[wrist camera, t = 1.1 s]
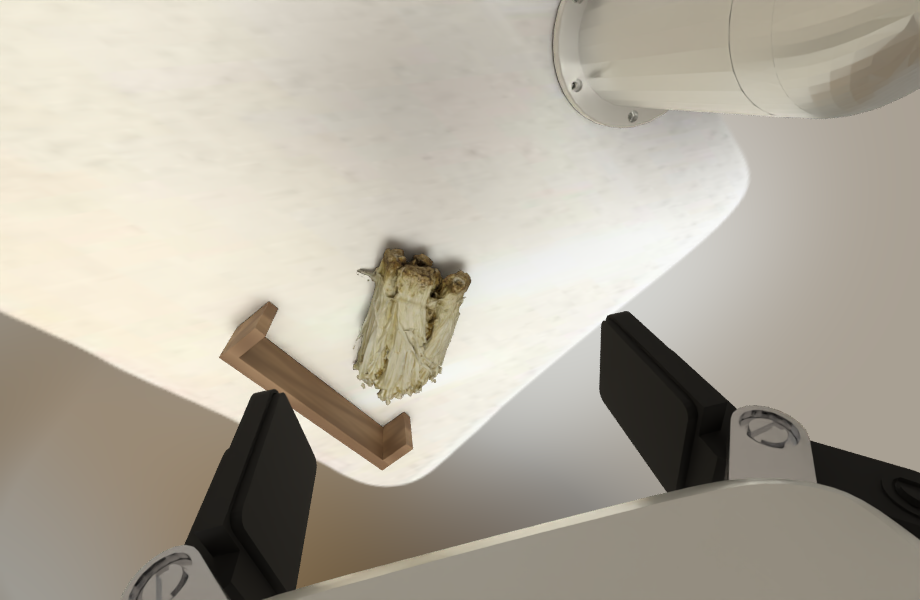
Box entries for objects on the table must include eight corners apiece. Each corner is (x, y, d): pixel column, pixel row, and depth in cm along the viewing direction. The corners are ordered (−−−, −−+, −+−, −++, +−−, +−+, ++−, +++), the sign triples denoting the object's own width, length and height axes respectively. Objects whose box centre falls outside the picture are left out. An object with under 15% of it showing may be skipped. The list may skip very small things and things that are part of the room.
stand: (269, 301, 35) (255, 327, 31) (409, 416, 44) (412, 449, 40) (236, 328, 36) (218, 357, 32) (381, 436, 45) (382, 470, 41)
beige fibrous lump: (366, 233, 34) (364, 256, 30) (472, 258, 37) (485, 282, 32) (337, 370, 40) (331, 407, 35) (430, 382, 43) (437, 418, 38)
